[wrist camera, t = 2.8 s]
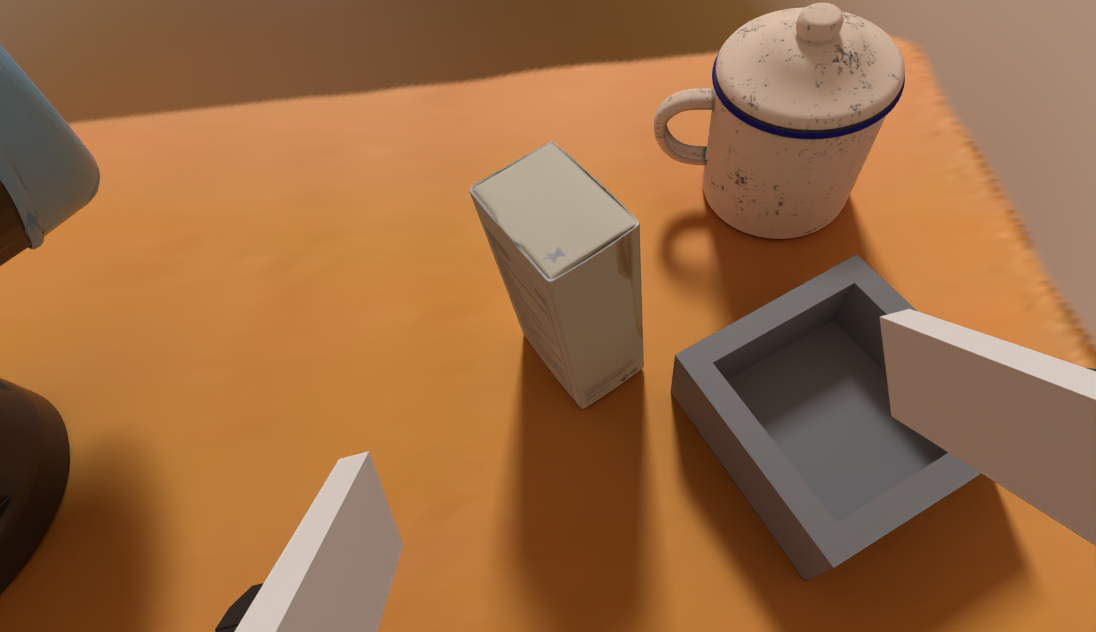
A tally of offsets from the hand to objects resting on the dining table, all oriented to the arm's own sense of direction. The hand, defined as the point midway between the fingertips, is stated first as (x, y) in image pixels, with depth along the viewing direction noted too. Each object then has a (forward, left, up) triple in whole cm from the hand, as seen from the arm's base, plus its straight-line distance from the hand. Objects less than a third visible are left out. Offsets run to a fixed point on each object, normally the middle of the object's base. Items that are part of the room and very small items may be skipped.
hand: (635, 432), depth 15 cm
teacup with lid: (+17, +14, -15) cm, 27 cm away
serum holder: (+11, 0, -15) cm, 18 cm away
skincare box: (+3, +10, -15) cm, 19 cm away
